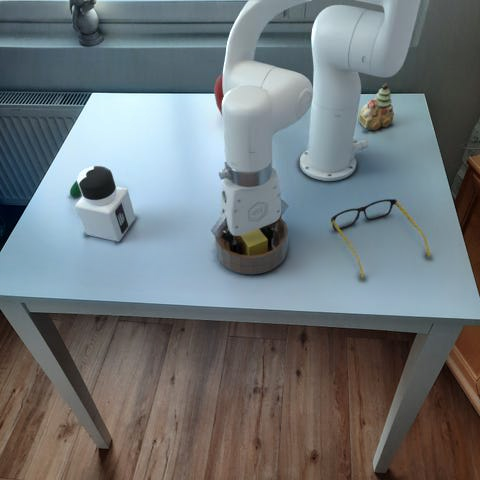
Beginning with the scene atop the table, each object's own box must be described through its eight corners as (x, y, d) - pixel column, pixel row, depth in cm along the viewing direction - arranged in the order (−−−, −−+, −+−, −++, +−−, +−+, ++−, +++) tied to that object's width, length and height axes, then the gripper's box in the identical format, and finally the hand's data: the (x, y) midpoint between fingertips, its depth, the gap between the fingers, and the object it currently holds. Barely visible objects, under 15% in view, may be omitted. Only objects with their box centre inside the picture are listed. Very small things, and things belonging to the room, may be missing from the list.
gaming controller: (112, 208, 104) (118, 181, 103) (102, 205, 100) (108, 177, 99) (78, 198, 106) (84, 171, 105) (67, 195, 103) (73, 167, 102)
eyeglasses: (389, 211, 97) (393, 195, 94) (430, 257, 88) (436, 242, 85) (326, 229, 94) (328, 214, 91) (362, 279, 86) (366, 264, 83)
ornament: (368, 135, 113) (376, 94, 105) (353, 123, 117) (359, 82, 109) (394, 125, 115) (404, 84, 107) (379, 114, 119) (387, 73, 111)
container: (136, 218, 99) (121, 164, 88) (119, 243, 94) (101, 189, 84) (104, 211, 101) (85, 158, 90) (85, 235, 96) (64, 182, 86)
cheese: (252, 236, 93) (252, 220, 90) (267, 254, 90) (267, 239, 87) (235, 243, 92) (233, 227, 89) (249, 262, 89) (248, 247, 86)
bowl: (265, 218, 97) (265, 199, 93) (300, 259, 90) (301, 240, 86) (205, 241, 94) (203, 222, 90) (236, 286, 86) (235, 267, 82)
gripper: (211, 198, 72) (220, 277, 87) (306, 164, 77) (299, 244, 91) (191, 172, 77) (203, 252, 91) (283, 141, 81) (280, 222, 95)
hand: (251, 247), depth 91 cm, fingers open, 5 cm apart
